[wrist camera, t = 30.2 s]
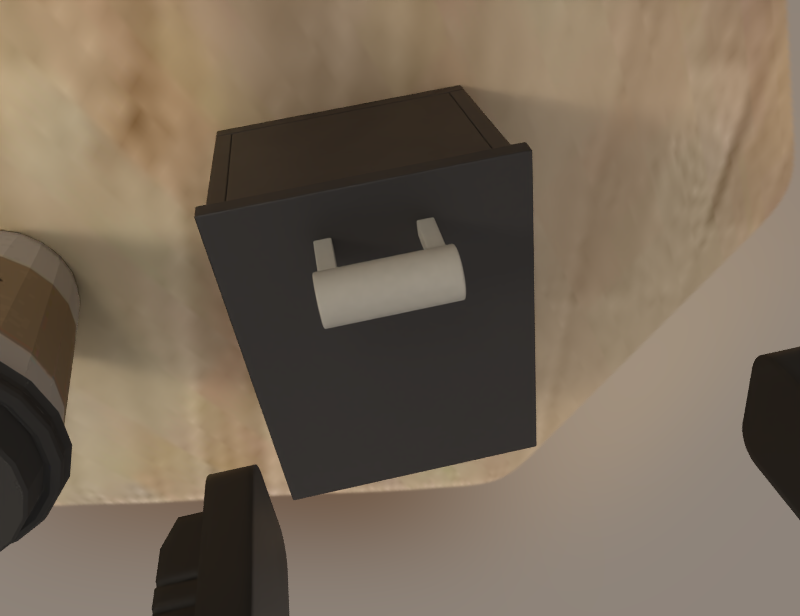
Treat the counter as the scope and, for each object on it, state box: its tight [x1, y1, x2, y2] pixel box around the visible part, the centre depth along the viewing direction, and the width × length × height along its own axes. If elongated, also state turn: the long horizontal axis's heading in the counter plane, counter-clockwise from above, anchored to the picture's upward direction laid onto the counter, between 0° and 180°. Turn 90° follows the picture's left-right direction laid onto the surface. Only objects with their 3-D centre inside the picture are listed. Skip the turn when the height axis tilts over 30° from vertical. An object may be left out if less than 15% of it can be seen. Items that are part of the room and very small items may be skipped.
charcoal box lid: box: [194, 142, 536, 500], centre depth 30 cm, size 16×13×5 cm
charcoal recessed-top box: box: [206, 85, 510, 205], centre depth 37 cm, size 16×13×10 cm
